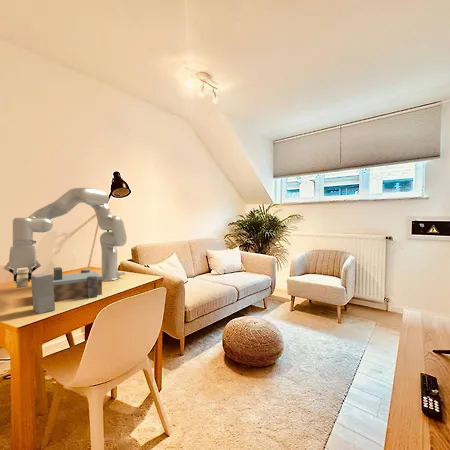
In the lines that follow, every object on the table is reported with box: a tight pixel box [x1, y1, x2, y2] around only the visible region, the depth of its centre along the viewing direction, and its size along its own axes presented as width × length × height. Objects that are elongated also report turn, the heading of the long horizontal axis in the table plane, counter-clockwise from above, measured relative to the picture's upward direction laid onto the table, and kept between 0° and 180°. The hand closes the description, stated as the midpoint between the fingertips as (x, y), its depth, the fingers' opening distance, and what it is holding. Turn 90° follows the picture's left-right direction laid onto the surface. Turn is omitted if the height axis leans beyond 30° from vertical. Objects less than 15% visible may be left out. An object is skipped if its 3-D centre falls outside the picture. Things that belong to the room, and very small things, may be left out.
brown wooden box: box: [53, 269, 103, 302], centre depth 136 cm, size 26×23×10 cm
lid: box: [53, 266, 102, 285], centre depth 136 cm, size 26×16×8 cm, turn 127°
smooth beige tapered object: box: [16, 268, 29, 289], centre depth 124 cm, size 4×24×4 cm, turn 37°
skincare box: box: [30, 272, 56, 314], centre depth 113 cm, size 8×7×16 cm
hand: (22, 281), depth 124 cm, fingers closed on smooth beige tapered object, 4 cm apart
